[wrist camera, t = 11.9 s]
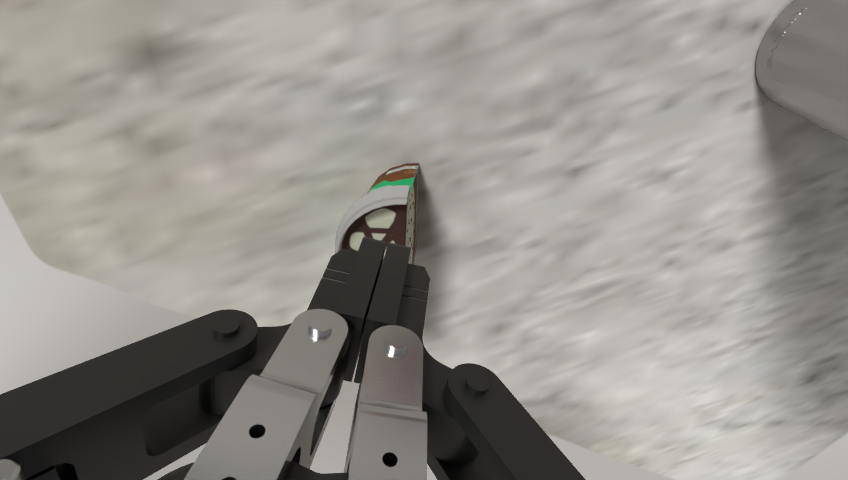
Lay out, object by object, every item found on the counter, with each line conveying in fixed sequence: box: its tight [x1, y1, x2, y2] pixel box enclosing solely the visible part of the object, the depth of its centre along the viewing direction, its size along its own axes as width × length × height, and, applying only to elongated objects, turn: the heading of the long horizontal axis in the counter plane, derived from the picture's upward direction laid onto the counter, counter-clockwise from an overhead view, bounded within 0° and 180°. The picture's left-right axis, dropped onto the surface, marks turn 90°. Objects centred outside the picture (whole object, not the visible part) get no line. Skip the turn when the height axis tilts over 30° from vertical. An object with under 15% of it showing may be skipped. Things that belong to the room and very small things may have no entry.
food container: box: [335, 163, 419, 265], centre depth 42 cm, size 12×6×10 cm, turn 178°
